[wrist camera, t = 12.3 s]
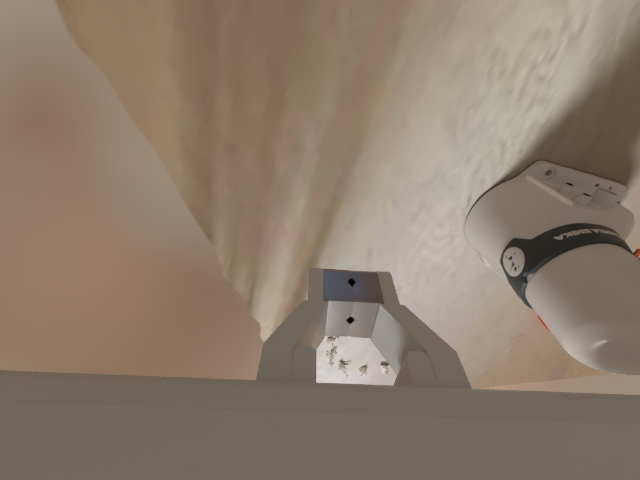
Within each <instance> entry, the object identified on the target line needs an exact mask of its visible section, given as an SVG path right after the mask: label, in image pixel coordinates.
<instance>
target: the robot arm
mask: <svg viewBox="0 0 640 480" xmlns="http://www.w3.org/2000/svg"><path fill="white" fill-rule="evenodd" d="M547 171H548V172H547ZM546 172H547V173H546ZM545 173H546V174H545ZM627 192H628V189H627V187H626V186H624V185H623V184H621V183H618V182H615V181H612V180H608V179H605V178H602V177H598V176H595V175H591V174H588V173H585V172H581V171H578V170H574V169H571V168H567V167H564V166H561V165H557V164H554V163H550V162H547V161H538V162H536V163H534V164H532V165H531V166H530V167H528V168H527V169H526V170H525V171H523V172H522V173H521V174H520V175H518V176H517V177H515V178H513V179H511V180H508V181H506V182H504V183H502V184H500V185H498V186H496V187H495V188H493V189H491V190H490V191H489V192H487V193H486V194H485V195H484V196H483V197H482V198H481V199H480V200H479V201H478V202H477V203H476V204H475V205H474V207H473V208H472V210H471V211H470V213H469V215H468V217H467V220H466V224H465V236H466V239H467V241H468V243H469V244H470V245H471V246H472V247H473V248H474V249H475V250H476V251H478V252H479V253H480V256H481V259H482V261H483V263H484V264H485V265H486V266H487V267H492V268H493V269H494V270H495V271H496V272H497V273H498V274H499V275H500V276H501V277H502V278H503V279H504V280H505V281H506V282H507V283H508V284H509V285H510V286H511V287H512V288H513V290H514V291H515V292H516V295H517V296H518V297H519V298H520V299H521V300H522V301H523V302H524V303H525V304H526V305H527V306H528V307H529V308H531V309H533V310H534V311H535V312H536V313H537V314H538V316H539V317H540V318H541V320H542V321H543V322H544V324H545V325H546V326H547V327H548V329H549V330H550V331H551V333H552V334H553V335H554V337H555V338H556V339H557V340H558V342H559V343H560V344H561V346H562V347H563V348H564V350H565V351H566V352H567V353H569V354H570V355H571V356H572V357H573V358H575V359H576V360H578V361H579V362H581V363H583V364H585V365H587V366H590V367H592V368H595V369H598V370H602V371H606V372H611V373H618V374H627V375H640V258H639V259H638V256H639V254H640V249H637V250H636V251H635V252H634V253H632V251H631V249H630V248H629V247H628V245H627V244H626V242H625V241H626V239H627V238H628V236H629V235H630V233H631V231H632V229H633V226H634V220H635V219H634V215H633V213H632V212H631V211H629V210H628V209H626V208H625V207H623V206H624V204H625V201H626V198H627ZM325 336H348V337H362V338H371V341H372V342H373V343H374V345H375V346H376V347H377V349H378V350H379V351H380V353H381V354H382V355H383V357H384V358H385V360H386V361H387V362H388V364H389V365H390V366H391V368H392V369H393V370H394V372H395V373H396V374H397V378H396V380H395V383H394V385H393V386H389V385H363V384H337V383H316V350H317V348H318V347H319V345H320V343H321V342H322V340H323V339H324V337H325ZM0 480H640V395H621V394H596V393H570V392H544V391H542V392H541V391H518V390H492V389H472V388H471V385H470V383H469V381H468V378H467V376H466V373H465V371H464V369H463V366H462V364H461V362H460V359H459V357H458V355H457V352H456V351H455V350H454V349H452V348H451V347H450V346H449V345H448V344H447V343H446V342H445V341H443V340H442V339H441V338H440V337H439V336H438V335H437V334H436V333H435V332H433V331H432V330H431V329H430V328H429V327H428V326H427V325H426V324H425V323H423V322H422V321H421V320H420V319H419V318H418V317H417V316H416V315H414V314H413V313H412V312H411V311H410V310H409V309H408V308H407V307H406V306H404V305H400V303H399V300H398V297H397V293H396V290H395V286H394V283H393V280H392V276H391V273H390V272H371V271H349V270H335V269H324V270H323V269H318V268H310V271H309V289H308V300H304V301H303V302H302V303H301V304H300V305H299V306H298V307H297V308H296V309H295V310H294V311H293V312H292V313H291V315H290V316H289V317H288V318H287V319H286V320H285V321H284V322H283V323H282V324H281V325H280V326H279V327H278V328H277V329H276V331H275V332H274V333H273V334H272V335H271V336H270V337H269V338H268V339H267V340H266V341H265V342H264V343H263V348H262V353H261V358H260V363H259V369H258V374H257V379H256V380H236V379H235V380H234V379H210V378H186V377H185V378H184V377H160V376H159V377H158V376H134V375H133V376H132V375H108V374H83V373H56V372H32V371H7V370H0Z"/></svg>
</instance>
